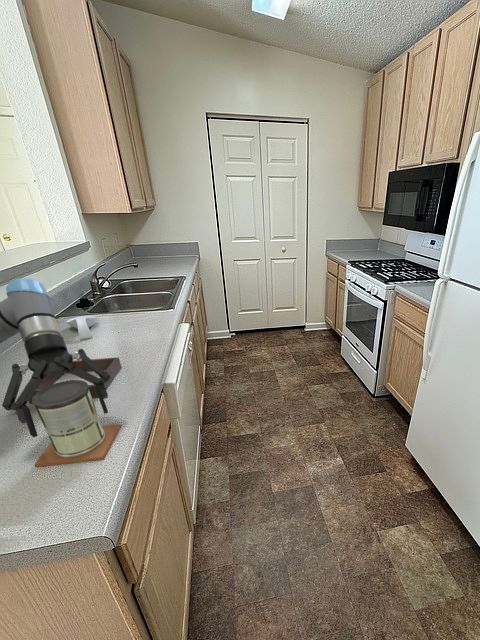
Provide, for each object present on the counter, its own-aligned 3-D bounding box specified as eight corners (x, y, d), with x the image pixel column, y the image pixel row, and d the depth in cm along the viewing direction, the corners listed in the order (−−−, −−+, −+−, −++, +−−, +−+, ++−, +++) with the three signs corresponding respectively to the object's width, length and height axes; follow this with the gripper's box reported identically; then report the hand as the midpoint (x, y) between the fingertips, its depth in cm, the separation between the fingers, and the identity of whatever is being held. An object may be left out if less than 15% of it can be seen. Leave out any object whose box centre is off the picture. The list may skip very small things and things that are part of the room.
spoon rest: (68, 325, 152) (63, 310, 149) (97, 320, 158) (93, 306, 154) (71, 342, 134) (65, 325, 131) (103, 336, 140) (98, 319, 137)
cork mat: (35, 467, 72) (34, 464, 72) (62, 432, 83) (61, 429, 82) (103, 459, 74) (102, 456, 74) (121, 426, 84) (120, 423, 84)
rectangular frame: (29, 403, 94) (24, 391, 93) (62, 372, 111) (58, 361, 109) (100, 397, 97) (96, 385, 95) (121, 367, 114) (118, 357, 112)
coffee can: (44, 449, 76) (20, 397, 70) (87, 424, 84) (69, 375, 78) (72, 463, 72) (50, 409, 65) (115, 435, 80) (98, 385, 74)
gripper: (104, 334, 87) (131, 407, 83) (-21, 361, 74) (5, 449, 70) (102, 320, 81) (132, 398, 77) (-35, 347, 68) (-7, 443, 64)
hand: (71, 423), depth 73 cm, fingers open, 13 cm apart
